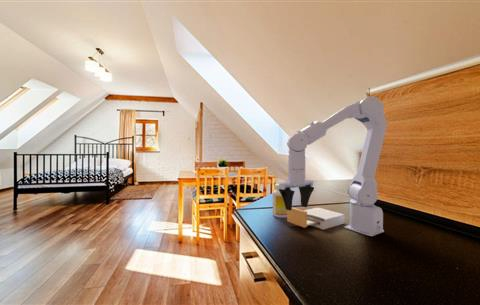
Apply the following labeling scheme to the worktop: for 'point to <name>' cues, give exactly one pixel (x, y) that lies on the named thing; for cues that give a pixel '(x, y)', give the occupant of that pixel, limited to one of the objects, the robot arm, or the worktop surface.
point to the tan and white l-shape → (299, 217)
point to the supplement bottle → (278, 204)
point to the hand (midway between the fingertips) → (296, 208)
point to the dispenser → (325, 217)
